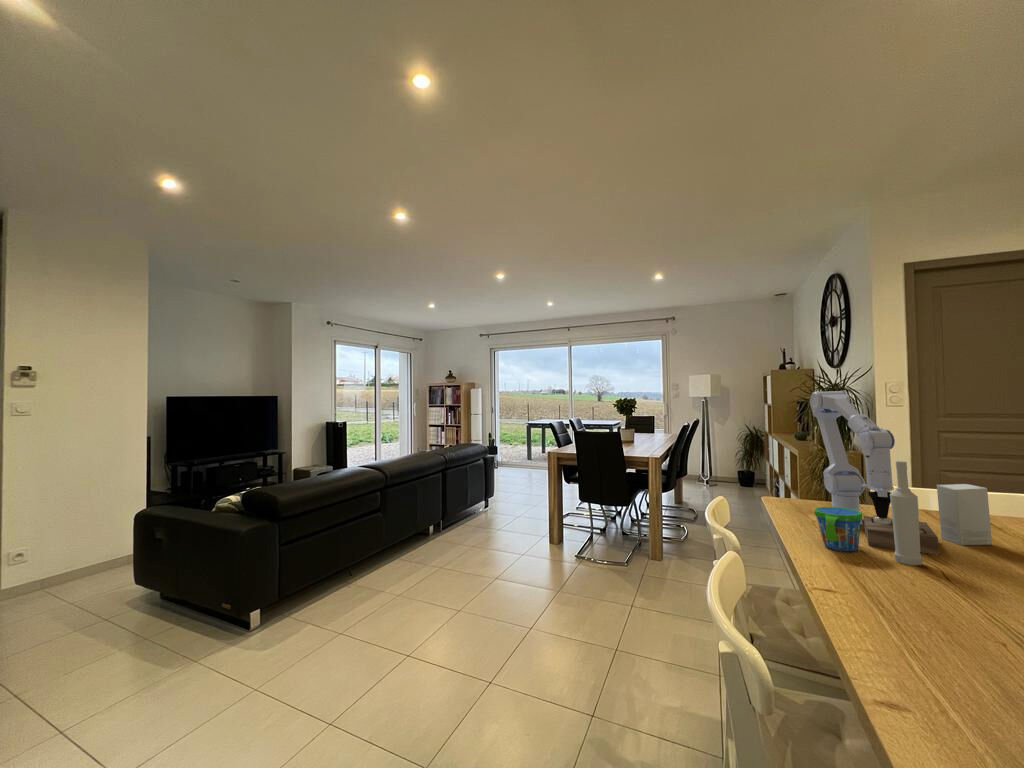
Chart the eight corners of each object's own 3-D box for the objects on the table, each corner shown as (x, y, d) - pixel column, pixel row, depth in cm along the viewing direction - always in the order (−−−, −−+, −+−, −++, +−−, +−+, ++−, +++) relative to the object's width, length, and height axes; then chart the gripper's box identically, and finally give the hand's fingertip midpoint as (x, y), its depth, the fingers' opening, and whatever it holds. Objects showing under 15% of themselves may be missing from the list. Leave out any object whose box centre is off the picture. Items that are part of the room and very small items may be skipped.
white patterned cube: (873, 529, 127) (872, 514, 127) (891, 531, 124) (890, 516, 124) (874, 533, 123) (873, 517, 124) (893, 535, 121) (891, 519, 121)
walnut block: (864, 530, 130) (863, 515, 130) (927, 538, 122) (926, 522, 122) (868, 545, 117) (867, 529, 117) (939, 555, 109) (937, 537, 109)
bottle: (928, 566, 102) (920, 463, 103) (903, 565, 103) (896, 463, 104) (913, 558, 107) (905, 460, 108) (889, 557, 108) (882, 460, 109)
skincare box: (971, 538, 121) (966, 483, 121) (995, 546, 114) (990, 488, 115) (939, 538, 121) (934, 483, 122) (961, 546, 115) (956, 488, 116)
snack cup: (830, 538, 125) (827, 503, 125) (875, 546, 116) (871, 509, 116) (806, 549, 116) (802, 512, 117) (852, 559, 107) (848, 519, 108)
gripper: (859, 466, 133) (862, 510, 132) (862, 473, 121) (866, 521, 120) (889, 468, 129) (892, 513, 128) (895, 475, 117) (899, 524, 116)
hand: (882, 517), depth 124 cm, fingers closed, pressing on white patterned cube
